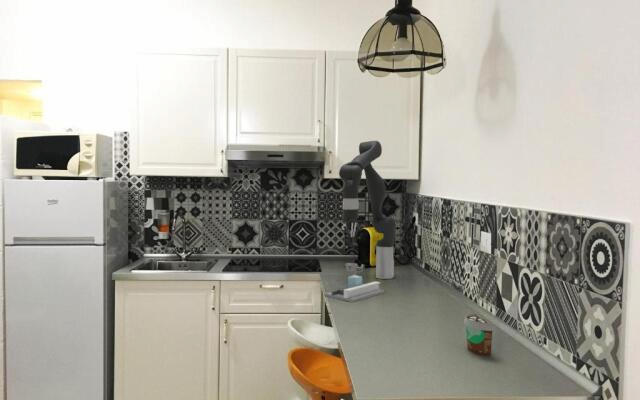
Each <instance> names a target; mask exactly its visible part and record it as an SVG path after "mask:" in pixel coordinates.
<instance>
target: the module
mask: <svg viewBox="0 0 640 400" xmlns="http://www.w3.org/2000/svg"><path fill="white" fill-rule="evenodd" d="M362 283H363V276H361V275H349V276H347V287H348V288H352V287H356V286H360V285H362Z"/></svg>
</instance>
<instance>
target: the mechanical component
mask: <svg viewBox="0 0 640 400" xmlns="http://www.w3.org/2000/svg"><path fill="white" fill-rule="evenodd" d="M343 265H344V268H345V271H346V272H350V273H351V276H353V275H356V276H358V273H361V272H363V271H364V269H365V264H363V263H362V264H361V266H359V265H358V263H354V262H353V263H350V262H346V263H344V264H343Z"/></svg>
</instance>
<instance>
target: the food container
mask: <svg viewBox="0 0 640 400" xmlns="http://www.w3.org/2000/svg"><path fill="white" fill-rule="evenodd" d="M463 325H465V333H466V348H467V351H469V352H470V353H472V354H476V355H479V356H490V357H491V355H492V345H493V344H492V342H493V332H494V323H488V322H487V321H486V320H485V319H483V318H480V317H479V316H478V312H472V313H468V314H466V315H465V317H464V320H463Z"/></svg>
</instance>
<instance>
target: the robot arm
mask: <svg viewBox="0 0 640 400" xmlns="http://www.w3.org/2000/svg"><path fill="white" fill-rule="evenodd" d="M382 149H383V147H382V143H380V141H378V140H369V141H363V142H360V143H359V145H358V151H359V155H356V156H355V157H354V158H353V159H352V160H351V161H349V162H346V163H345V164H343V165H341V167H340V168H339V171H338V177H339V178H340V179H341V180H343V181H352V182H351V183H350V184H349V185H345V186H343V190H342V196H343V197H342V198H343V199H342V219H344V221H343V225H341V226H340V229H341V231H342V234H343V235H344V236H345V237H347V245H348V246H353V245H354V242H355V241H354V240H355V239H354V238H355V236H357V235H358V233H359V230H360V227H361V224H360V223H358V219H359V217H360V215H359V214H360V213H359V212H360V210H359V206H360V205H359V204H360V203H359V189H360V182H361V179H362V175H363V171H364V175H365V180H366V187H367V193H368V197H369V201H370V208H371V215H372V225H373V230H374V231H375V232H376V233H378V234H383V237H382V238H381V239H379V240H377V241H376V243H375V244H376V245H375V246H376V249H375V250H376V251H375V252H376V256H375V258H376V259H375V260H376V261H375V263H376V264H375V265H376V266H375V268H376V269H375V273H376V274H375V277H376V278H377V279H380V280H391V279H393V278H394V277H395V260H394V245H395V241H396V229H397V228H396V220H395V218H393V217H390V216H383V211H382V210H383V208H382V206H383V203H384V201H385V198H386V196H387V195H386V194H387V191H386V185H385V181H384V179H383V177H382V176H381V175H380V174H379V173H378V172H377V171H376V170H375V169H374V167H373V165H372V162H374V161H375V160H377V159H378V158H380V157H381V155H382V152H383V150H382Z"/></svg>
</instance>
